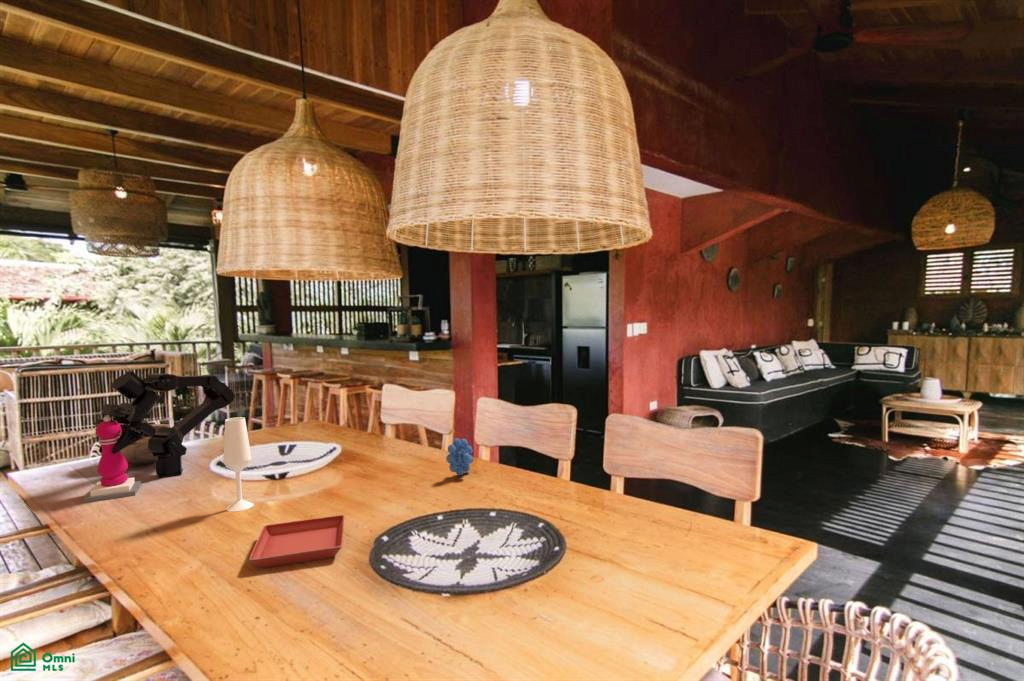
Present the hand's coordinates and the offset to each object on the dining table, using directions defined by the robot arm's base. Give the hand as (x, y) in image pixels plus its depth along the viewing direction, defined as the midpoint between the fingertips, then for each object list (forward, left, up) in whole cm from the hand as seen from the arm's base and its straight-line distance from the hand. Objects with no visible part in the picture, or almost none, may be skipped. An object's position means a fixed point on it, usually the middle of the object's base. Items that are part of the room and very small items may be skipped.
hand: (106, 452), depth 154 cm
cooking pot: (-4, -34, -13) cm, 36 cm away
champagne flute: (-34, +31, -13) cm, 48 cm away
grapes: (-96, +38, -13) cm, 104 cm away
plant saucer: (-46, +66, -13) cm, 82 cm away
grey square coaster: (-1, -1, -13) cm, 13 cm away
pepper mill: (-1, -1, -10) cm, 10 cm away
